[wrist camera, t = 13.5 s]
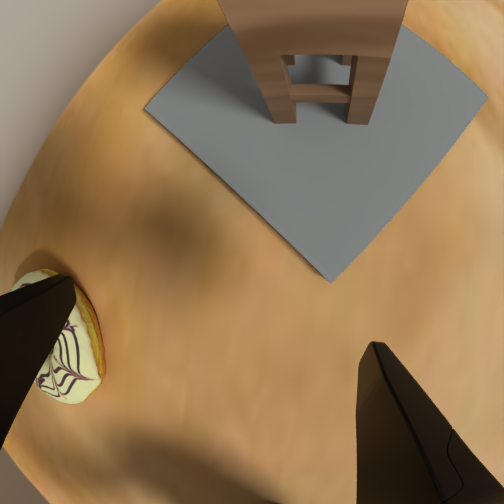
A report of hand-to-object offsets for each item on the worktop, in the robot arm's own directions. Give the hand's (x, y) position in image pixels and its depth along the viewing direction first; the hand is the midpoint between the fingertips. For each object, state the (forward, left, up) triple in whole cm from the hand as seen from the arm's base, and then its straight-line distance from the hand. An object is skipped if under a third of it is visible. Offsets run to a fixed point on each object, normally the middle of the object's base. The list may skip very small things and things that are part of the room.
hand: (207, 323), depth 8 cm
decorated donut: (+13, +11, -10) cm, 20 cm away
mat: (+1, -12, -10) cm, 15 cm away
